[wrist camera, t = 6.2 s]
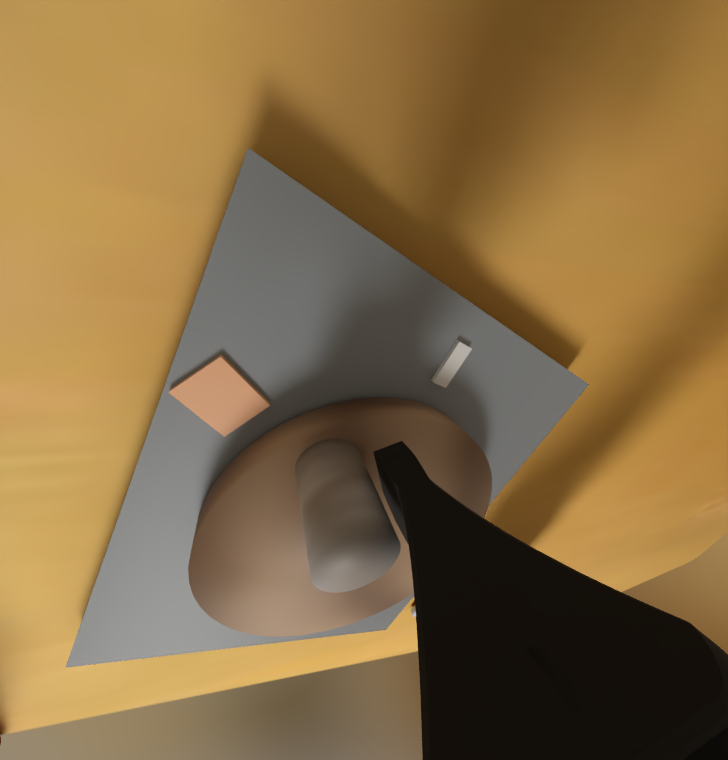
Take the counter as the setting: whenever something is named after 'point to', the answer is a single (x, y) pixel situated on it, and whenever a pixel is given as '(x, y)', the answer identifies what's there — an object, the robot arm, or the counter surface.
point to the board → (298, 394)
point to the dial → (322, 517)
